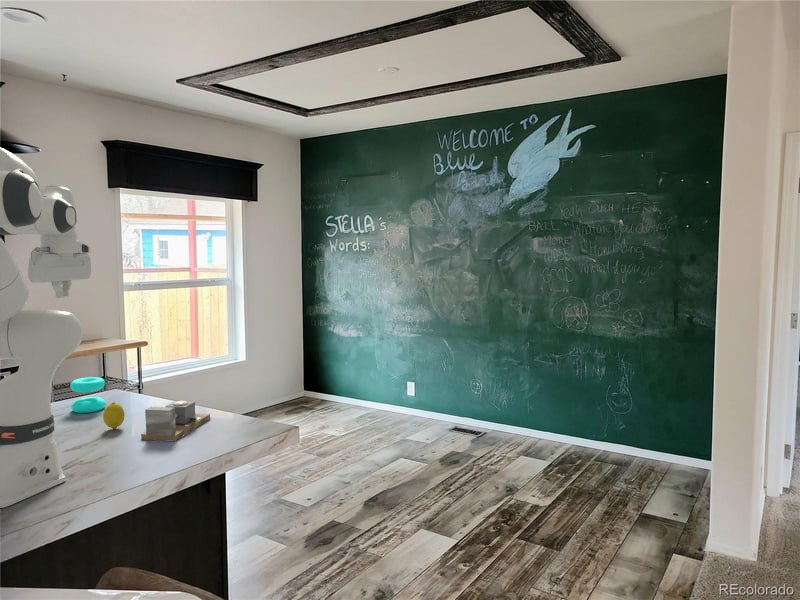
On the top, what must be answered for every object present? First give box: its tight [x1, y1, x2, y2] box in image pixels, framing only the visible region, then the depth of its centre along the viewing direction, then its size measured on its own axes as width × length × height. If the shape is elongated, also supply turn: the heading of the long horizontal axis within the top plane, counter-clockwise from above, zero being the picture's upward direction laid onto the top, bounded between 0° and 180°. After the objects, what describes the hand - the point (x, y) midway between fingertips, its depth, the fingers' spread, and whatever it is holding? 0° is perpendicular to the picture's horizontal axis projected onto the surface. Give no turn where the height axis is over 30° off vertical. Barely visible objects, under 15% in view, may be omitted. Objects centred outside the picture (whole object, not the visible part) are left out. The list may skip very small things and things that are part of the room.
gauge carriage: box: [164, 400, 197, 424], centre depth 170 cm, size 9×8×5 cm
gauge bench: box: [140, 406, 211, 442], centre depth 170 cm, size 21×10×8 cm, turn 172°
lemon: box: [102, 401, 125, 430], centre depth 169 cm, size 6×6×8 cm
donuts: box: [69, 376, 107, 414], centre depth 190 cm, size 10×10×10 cm
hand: (62, 297), depth 160 cm, fingers closed
